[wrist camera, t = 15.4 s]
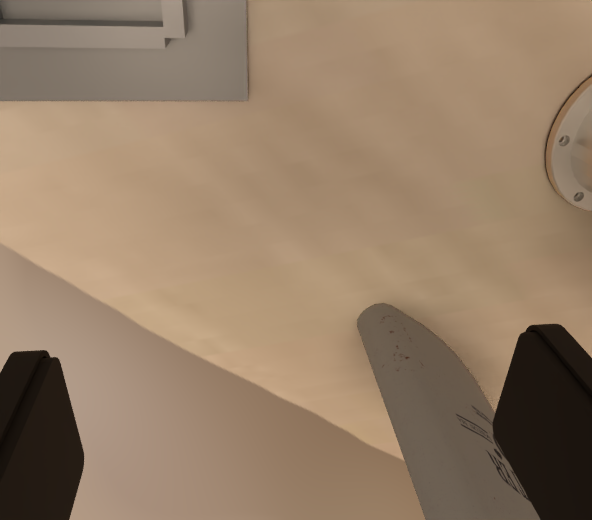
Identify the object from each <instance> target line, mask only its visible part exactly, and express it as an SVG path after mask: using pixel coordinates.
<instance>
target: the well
mask: <svg viewBox="0 0 592 520" xmlns="http://www.w3.org/2000/svg"><path fill="white" fill-rule="evenodd" d="M0 101H248V70H247V17H246V0H0Z"/></svg>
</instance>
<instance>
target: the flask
mask: <svg viewBox="0 0 592 520" xmlns="http://www.w3.org/2000/svg"><path fill="white" fill-rule="evenodd" d="M357 327H358V330H359V333H360V336H361V338H362V341H363V344H364V347H365V350H366V352H367V355H368V358H369V361H370V364H371V367H372V369H373V372H374V375H375V378H376V381H377V383H378V386H379V389H380V392H381V395H382V398H383V400H384V403H385V406H386V409H387V412H388V415H389V417H390V420H391V423H392V426H393V429H394V431H395V434H396V437H397V440H398V443H399V446H400V448H401V451H402V454H403V457H404V460H405V462H406V465H407V468H408V471H409V474H410V476H411V479H412V482H413V485H414V488H415V491H416V494H417V496H418V499H419V502H420V505H421V507H422V510H423V513H424V516H425V519H426V520H540V518H539V516H538V514H537V512H536V511H535V509H534V507H533V505H532V503H531V502H530V500H529V498H528V496H527V495H526V493H525V491H524V489H523V487H522V486H521V484H520V482H519V480H518V478H517V477H516V475H515V473H514V471H513V469H512V468H511V466H510V464H509V462H508V460H507V459H506V457H505V455H504V453H503V452H502V450H501V448H500V446H499V444H498V443H497V441H496V439H495V437H494V433H493V419H494V416H495V412H494V411H493V409H492V407H491V405H490V404H489V402H488V400H487V399H486V397H485V395H484V394H483V392H482V390H481V388H480V387H479V385H478V383H477V382H476V380H475V379H474V377H473V376H472V375H471V373H470V372H469V371H468V369H467V368H466V367H465V365H464V364H463V363H462V361H461V360H460V359H459V357H458V356H457V355H456V354H455V353H454V352H453V351H452V350H451V349H450V348H449V347H448V346H447V345H446V344H445V343H444V342H443V341H442V340H441V339H440V338H439V337H437V336H436V335H435V334H433V333H432V332H431V331H430V330H428V329H427V328H426V327H425V326H423V325H422V324H420V323H419V322H417V321H415V320H414V319H412V318H411V317H409V316H407V315H406V314H404V313H403V312H401V311H399V310H398V309H396V308H394V307H393V306H391V305H388V304H385V303H382V304H374V305H373V306H371V307H369V308H367V309H366V310H365V311H363V312H362V314H361V315H360V316H359V318H358V319H357Z"/></svg>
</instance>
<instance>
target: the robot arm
mask: <svg viewBox="0 0 592 520" xmlns="http://www.w3.org/2000/svg"><path fill="white" fill-rule="evenodd" d="M546 169H547V173H548V176H549V180H550V182H551V184H552V185H553V187H554V189H555V191H556V192H557V193H558V194H559V195H560V196H561V197H562V198H563V199H565V200H566V201H568V202H569V203H570V204H572V205H573V206H576V207H578V208H580V209H583V210H586V211H592V77H590V78H589V79H588V80H587V81H585V82H584V83H583V84H582V85H581V86H580V87H579V88H578V89H577V90H576V91H575V92H574V93H573V94H572V96H571V97H570V98H569V99H568V101H567V102H566V104H565V105H564V106H563V108H562V109H561V111H560V112H559V114H558V116H557V118H556V120H555V122H554V124H553V126H552V129H551V132H550V136H549V139H548V142H547V149H546ZM493 433H494V437H495V439H496V441H497V443H498V444H499V446H500V448H501V450H502V452H503V453H504V455H505V457H506V459H507V460H508V462H509V464H510V466H511V468H512V469H513V471H514V473H515V475H516V477H517V478H518V480H519V482H520V484H521V486H522V487H523V489H524V491H525V493H526V495H527V496H528V498H529V500H530V502H531V503H532V505H533V507H534V509H535V511H536V512H537V514H538V516H539V518H540V520H592V358H591V357H590V356H589V355H588V354H587V352H586V351H585V350H584V349H583V348H582V347H581V346H580V345H579V344H578V343H577V341H576V340H575V339H574V338H573V337H572V336H571V335H570V334H569V333H568V332H567V330H566V329H565V328H564V327H562V326H561V325H559V324H543V325H531V326H529V327H528V328H527V330H526V332H524V333H521V334H520V336H519V338H518V341H517V344H516V348H515V351H514V354H513V357H512V361H511V364H510V367H509V370H508V374H507V377H506V380H505V383H504V387H503V390H502V393H501V396H500V400H499V403H498V406H497V409H496V413H495V416H494V419H493ZM83 466H84V452H83V448H82V444H81V440H80V436H79V432H78V429H77V425H76V421H75V417H74V413H73V409H72V406H71V402H70V398H69V394H68V390H67V387H66V383H65V379H64V376H63V371H62V368H61V364H60V361H59V359H58V358H56V357H53V358H50V356H49V353H48V352H47V351H45V350H40V351H23V352H22V351H21V352H13V353H12V354H11V355H10V356H9V358H8V360H7V362H6V363H5V365H4V367H3V369H2V371H1V373H0V520H69V518H70V515H71V511H72V508H73V504H74V500H75V497H76V493H77V489H78V486H79V483H80V479H81V475H82V471H83Z"/></svg>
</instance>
